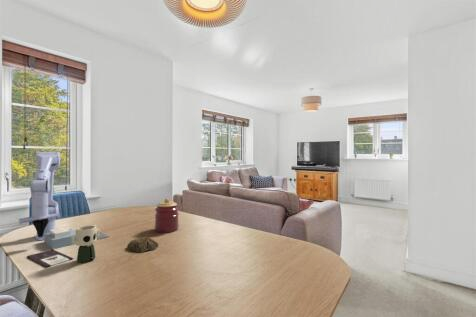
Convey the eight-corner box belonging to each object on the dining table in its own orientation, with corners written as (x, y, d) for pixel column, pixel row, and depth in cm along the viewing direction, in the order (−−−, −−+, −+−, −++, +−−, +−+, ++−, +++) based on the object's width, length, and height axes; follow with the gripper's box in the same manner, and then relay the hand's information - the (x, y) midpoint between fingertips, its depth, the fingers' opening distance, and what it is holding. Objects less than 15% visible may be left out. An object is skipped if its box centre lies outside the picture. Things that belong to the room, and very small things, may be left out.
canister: (183, 228, 143) (183, 197, 143) (165, 234, 132) (165, 201, 132) (167, 225, 150) (167, 195, 150) (149, 230, 139) (149, 198, 139)
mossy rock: (124, 247, 113) (124, 237, 113) (149, 241, 122) (149, 231, 122) (137, 255, 104) (137, 243, 104) (163, 247, 113) (163, 237, 113)
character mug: (77, 267, 92) (77, 232, 92) (66, 263, 96) (66, 229, 96) (104, 256, 102) (104, 225, 102) (93, 253, 105) (93, 223, 105)
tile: (49, 234, 119) (49, 229, 119) (64, 231, 123) (64, 227, 123) (55, 238, 113) (55, 233, 113) (70, 235, 118) (70, 230, 118)
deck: (44, 242, 119) (44, 233, 119) (71, 236, 128) (71, 228, 128) (52, 249, 110) (52, 240, 110) (80, 242, 119) (80, 234, 119)
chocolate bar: (52, 249, 109) (73, 258, 100) (52, 251, 109) (73, 260, 100) (26, 256, 101) (46, 266, 92) (26, 258, 101) (46, 268, 92)
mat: (71, 235, 129) (71, 235, 129) (96, 230, 138) (96, 230, 138) (82, 242, 118) (82, 242, 118) (108, 236, 128) (108, 236, 128)
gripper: (20, 210, 104) (21, 242, 104) (62, 205, 115) (62, 234, 116) (17, 208, 109) (17, 238, 109) (57, 203, 120) (57, 231, 120)
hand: (40, 236), depth 113 cm, fingers closed
